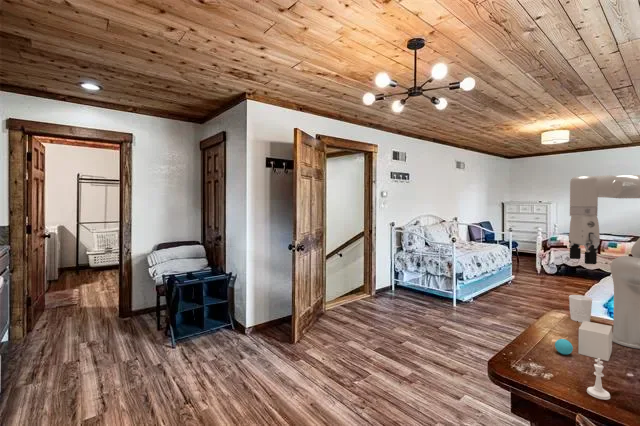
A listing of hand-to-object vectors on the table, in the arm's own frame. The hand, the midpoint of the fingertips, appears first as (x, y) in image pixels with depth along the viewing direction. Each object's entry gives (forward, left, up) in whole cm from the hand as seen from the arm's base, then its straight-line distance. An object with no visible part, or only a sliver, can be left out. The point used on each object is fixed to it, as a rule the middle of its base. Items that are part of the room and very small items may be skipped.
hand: (582, 261), depth 114 cm
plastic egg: (+8, 0, -29) cm, 30 cm away
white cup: (-27, -23, -32) cm, 48 cm away
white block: (-3, +2, -32) cm, 32 cm away
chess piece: (+21, +21, -32) cm, 44 cm away
